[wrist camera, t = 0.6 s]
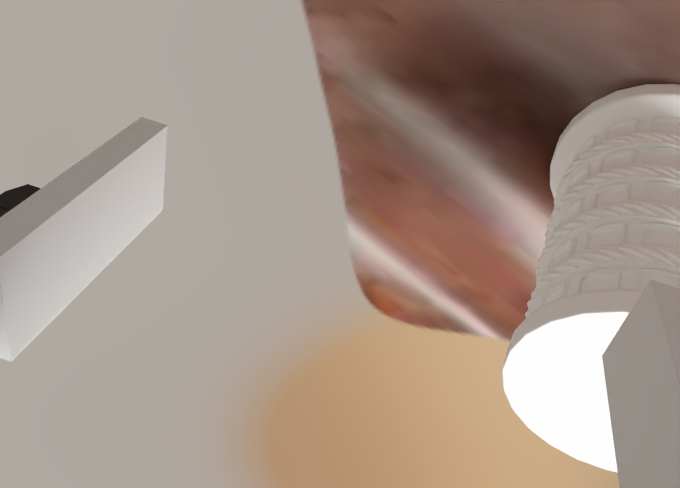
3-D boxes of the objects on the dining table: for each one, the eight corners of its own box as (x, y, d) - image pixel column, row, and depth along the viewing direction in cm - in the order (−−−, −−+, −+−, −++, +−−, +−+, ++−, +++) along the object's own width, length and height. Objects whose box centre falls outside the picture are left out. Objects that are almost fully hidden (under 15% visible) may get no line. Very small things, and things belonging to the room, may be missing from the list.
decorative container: (730, 50, 33) (753, 280, 21) (785, 220, 38) (829, 488, 26) (523, 122, 40) (450, 325, 28) (590, 257, 45) (552, 482, 33)
